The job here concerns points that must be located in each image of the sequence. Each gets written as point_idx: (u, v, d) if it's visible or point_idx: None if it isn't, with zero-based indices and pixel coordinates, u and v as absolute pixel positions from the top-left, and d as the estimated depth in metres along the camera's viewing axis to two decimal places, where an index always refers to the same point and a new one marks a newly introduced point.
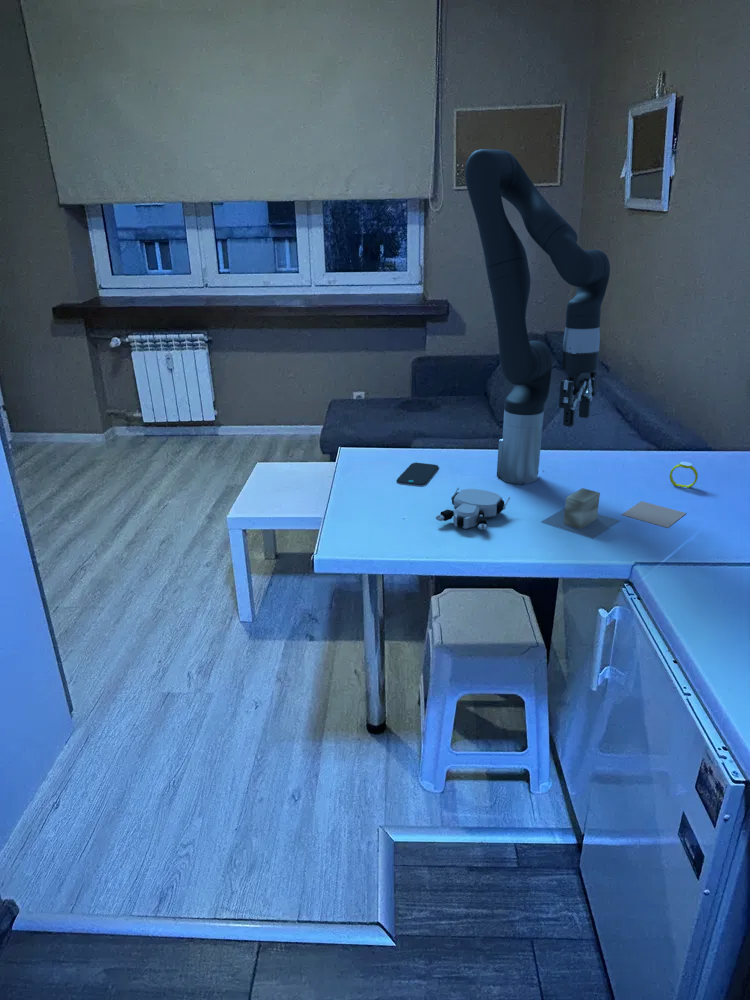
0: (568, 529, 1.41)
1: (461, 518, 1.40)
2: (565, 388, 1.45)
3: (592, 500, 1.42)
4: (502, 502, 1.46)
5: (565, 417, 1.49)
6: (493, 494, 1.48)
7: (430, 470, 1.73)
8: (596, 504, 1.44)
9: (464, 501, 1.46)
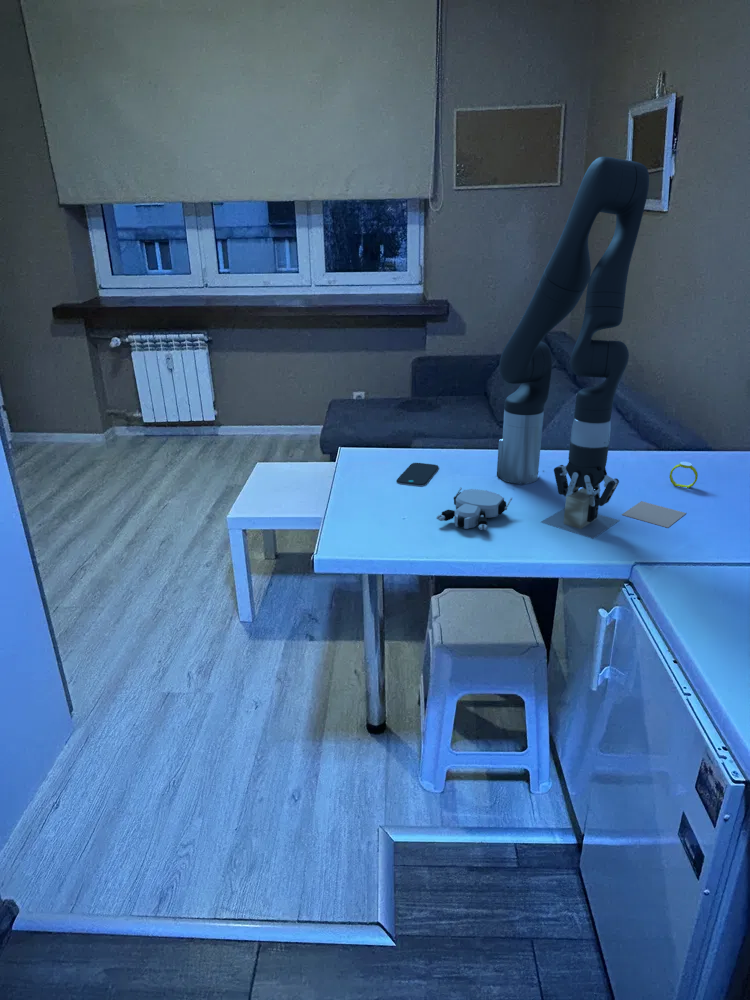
0: (568, 529, 1.41)
1: (462, 518, 1.40)
2: (613, 488, 1.37)
3: None
4: (504, 503, 1.46)
5: (595, 513, 1.41)
6: (495, 495, 1.48)
7: (430, 470, 1.73)
8: None
9: (466, 501, 1.46)
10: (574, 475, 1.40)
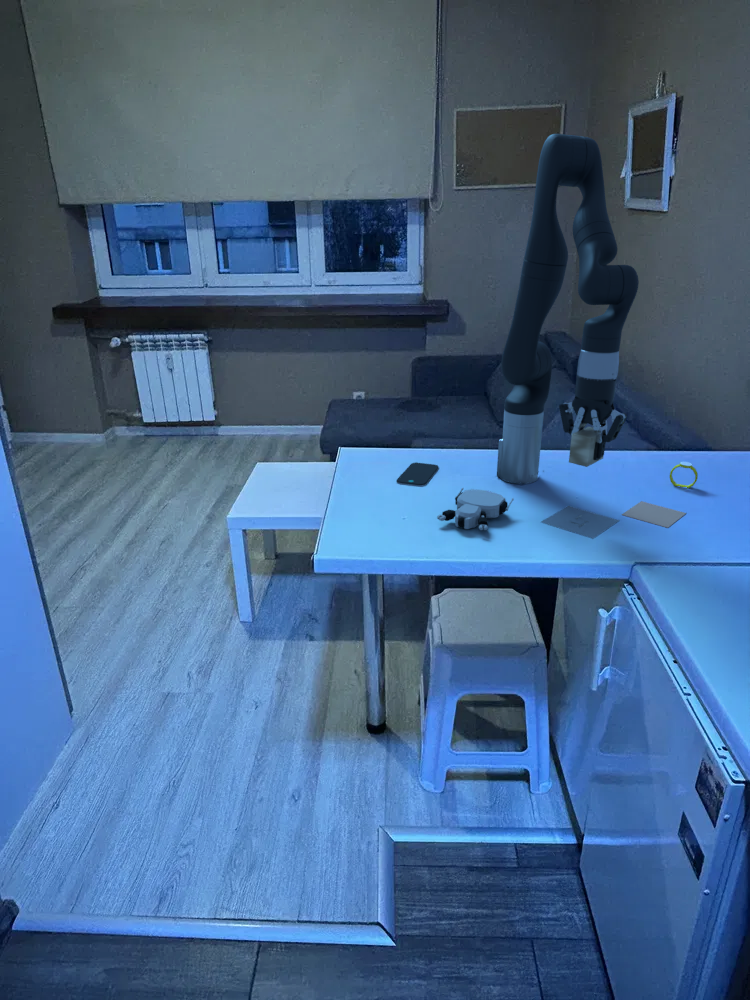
0: (568, 529, 1.41)
1: (462, 518, 1.40)
2: (621, 423, 1.32)
3: None
4: (505, 503, 1.45)
5: (602, 450, 1.36)
6: (497, 495, 1.48)
7: (430, 470, 1.73)
8: None
9: (467, 501, 1.46)
10: (580, 411, 1.35)
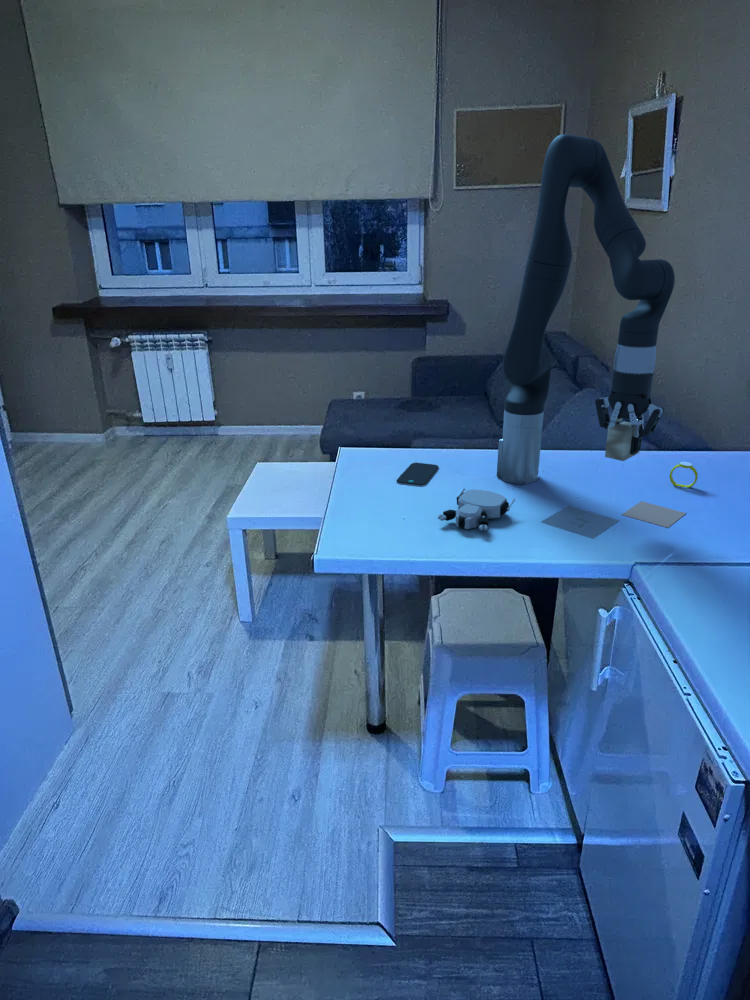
0: (568, 529, 1.41)
1: (462, 518, 1.40)
2: (658, 417, 1.32)
3: None
4: (506, 504, 1.45)
5: (639, 445, 1.37)
6: (498, 496, 1.48)
7: (430, 470, 1.73)
8: None
9: (468, 501, 1.46)
10: (617, 405, 1.36)
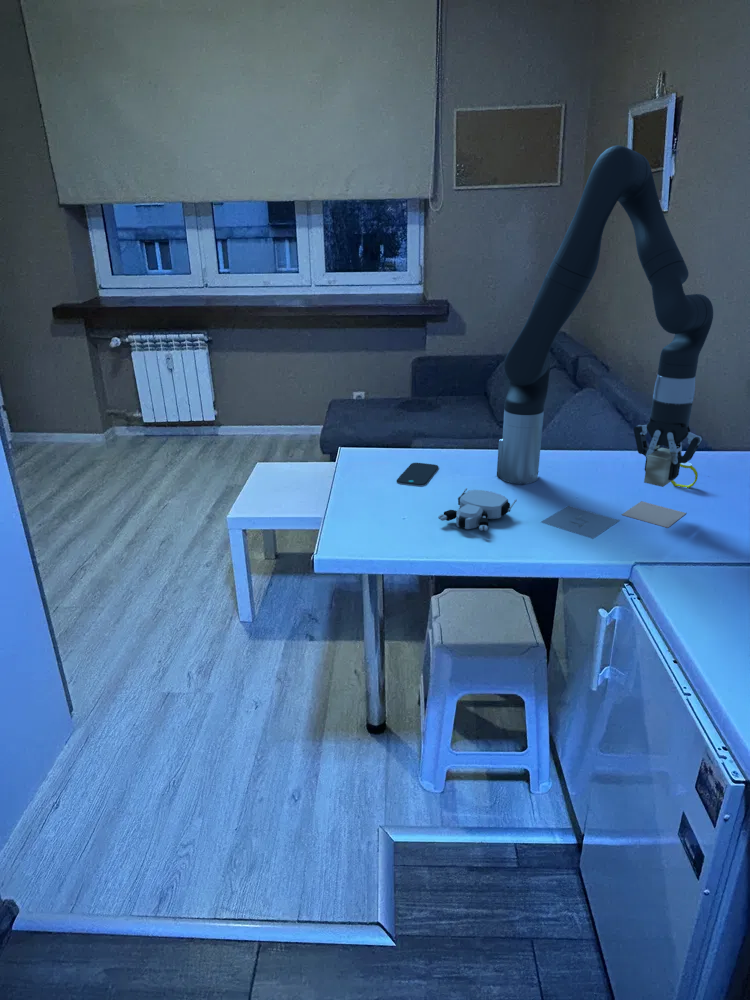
0: (568, 529, 1.41)
1: (463, 518, 1.40)
2: (697, 445, 1.37)
3: None
4: (507, 504, 1.45)
5: (677, 471, 1.41)
6: (500, 496, 1.47)
7: (430, 470, 1.73)
8: None
9: (469, 502, 1.46)
10: (656, 433, 1.40)
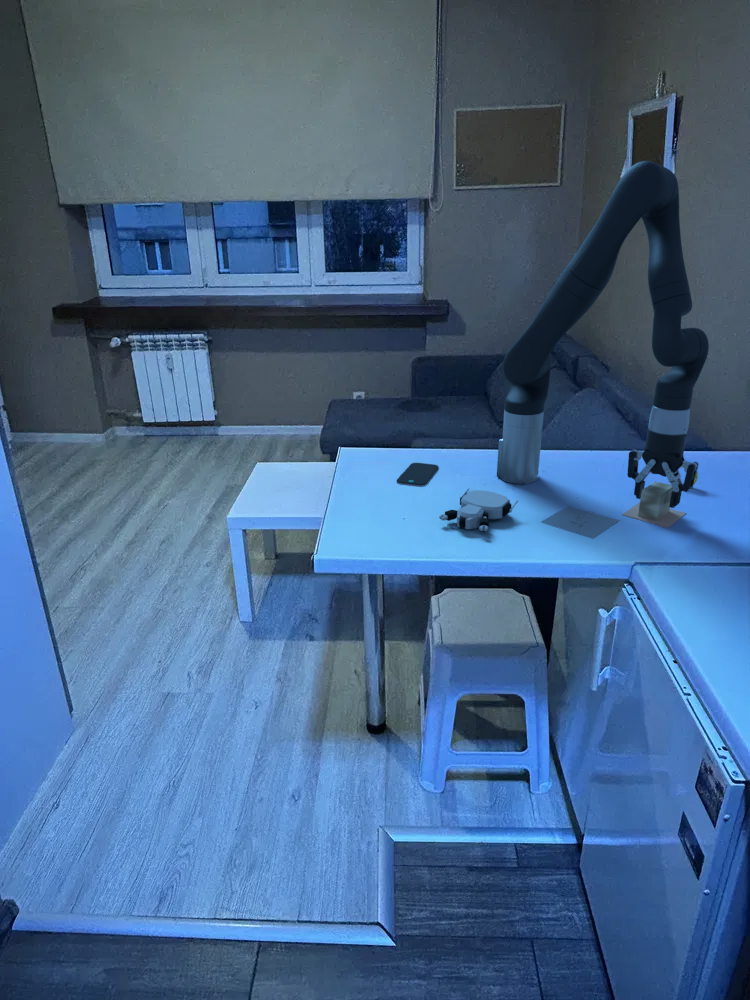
0: (568, 529, 1.41)
1: (463, 519, 1.40)
2: (694, 471, 1.39)
3: (667, 492, 1.45)
4: (509, 505, 1.45)
5: (678, 499, 1.43)
6: (501, 497, 1.47)
7: (430, 470, 1.73)
8: (670, 497, 1.47)
9: (470, 502, 1.46)
10: (651, 462, 1.43)
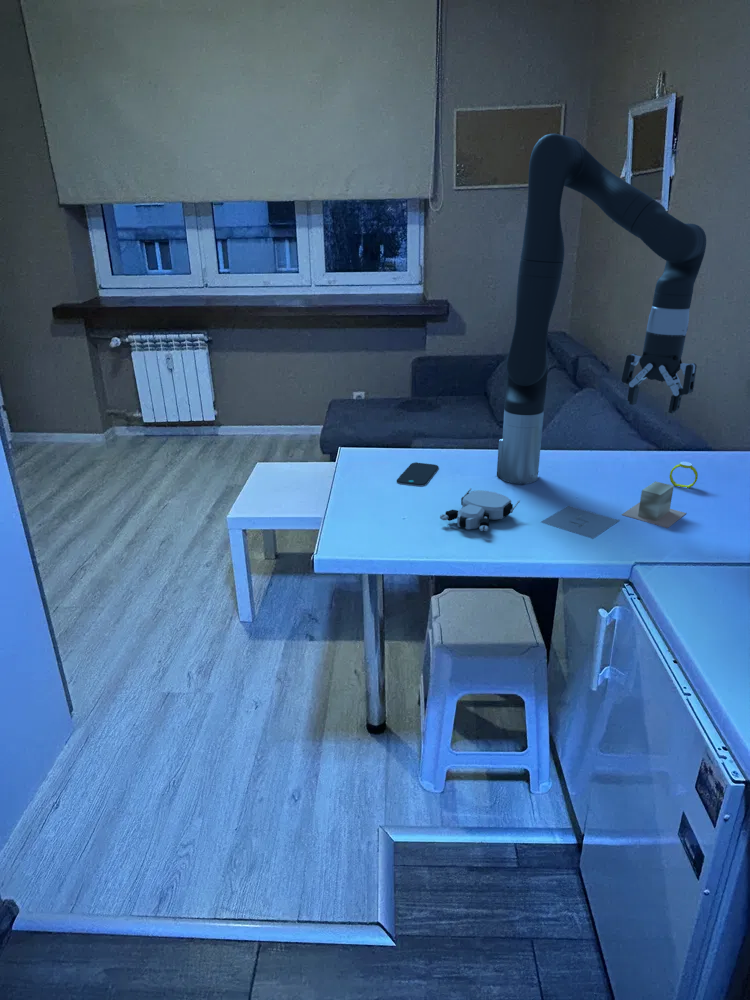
0: (568, 529, 1.41)
1: (463, 519, 1.40)
2: (693, 372, 1.36)
3: (667, 492, 1.45)
4: (510, 505, 1.44)
5: (678, 403, 1.39)
6: (503, 497, 1.47)
7: (430, 470, 1.73)
8: (670, 497, 1.47)
9: (471, 502, 1.46)
10: (648, 366, 1.40)
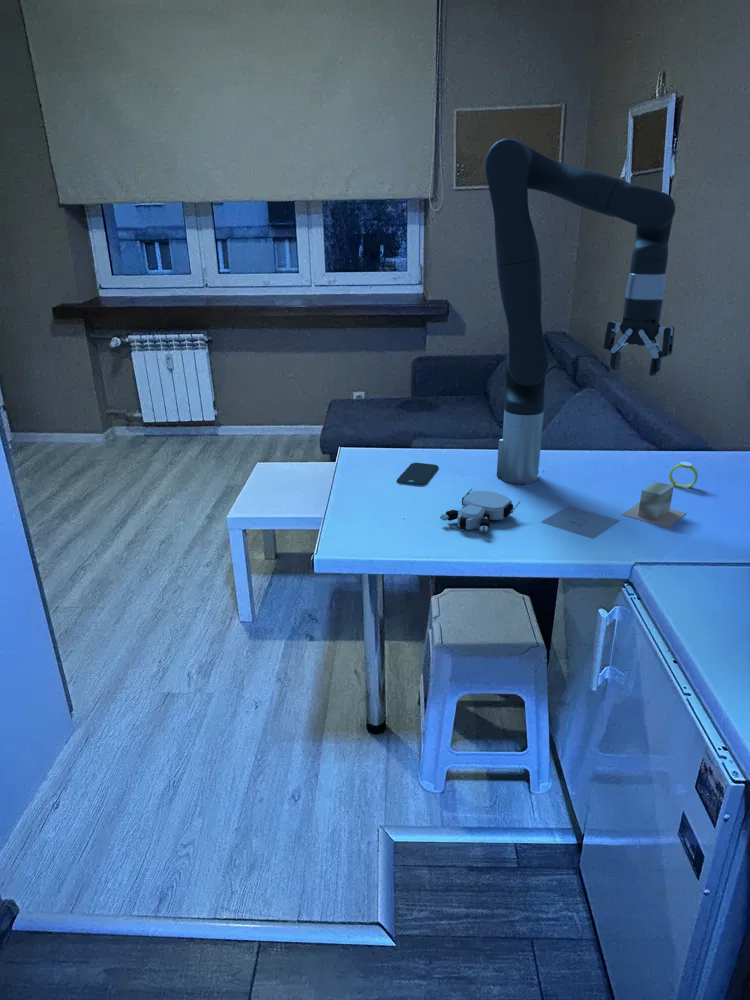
0: (568, 529, 1.41)
1: (464, 519, 1.40)
2: (671, 334, 1.42)
3: (667, 492, 1.45)
4: (510, 506, 1.44)
5: (658, 366, 1.45)
6: (503, 497, 1.47)
7: (430, 470, 1.73)
8: (670, 497, 1.47)
9: (472, 502, 1.46)
10: (628, 332, 1.46)
